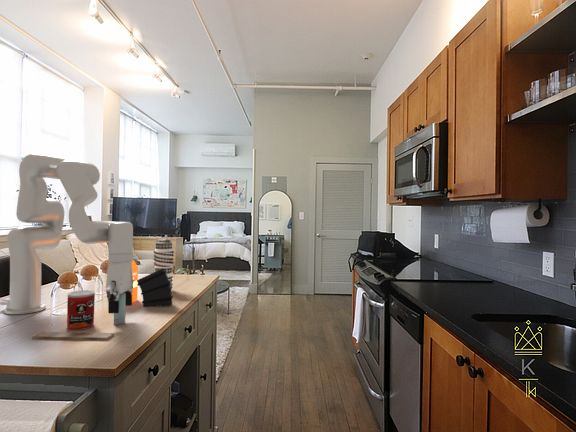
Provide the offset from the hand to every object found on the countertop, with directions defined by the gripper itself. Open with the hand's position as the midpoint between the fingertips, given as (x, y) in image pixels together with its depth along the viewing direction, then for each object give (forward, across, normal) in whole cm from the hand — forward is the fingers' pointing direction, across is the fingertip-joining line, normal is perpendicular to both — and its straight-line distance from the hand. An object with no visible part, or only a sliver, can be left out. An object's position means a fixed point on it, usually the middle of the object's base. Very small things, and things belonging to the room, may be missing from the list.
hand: (120, 309), depth 121 cm
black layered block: (+5, -24, +2) cm, 25 cm away
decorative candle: (+5, -51, -4) cm, 52 cm away
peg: (+5, 0, 0) cm, 5 cm away
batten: (+5, +14, -8) cm, 16 cm away
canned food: (+5, +4, -12) cm, 13 cm away
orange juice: (+5, -29, -12) cm, 32 cm away
